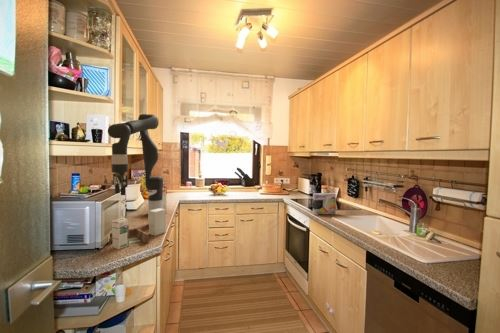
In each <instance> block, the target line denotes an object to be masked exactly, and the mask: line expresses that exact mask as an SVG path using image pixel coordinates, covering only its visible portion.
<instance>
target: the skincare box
mask: <svg viewBox="0 0 500 333" xmlns="http://www.w3.org/2000/svg"><path fill="white" fill-rule="evenodd" d="M166 215H167V209H166V210H165V209H161V208H158V209H154V210H150V211H149V225H148V228H149V229H148V234H149V235H152V236H154V237H155V236H159V235H162V234H165V233H166V232H167V231H166V230H167V229H166V227H167V226H166V224H167V223H166Z"/></svg>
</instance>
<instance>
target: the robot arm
mask: <svg viewBox="0 0 500 333" xmlns="http://www.w3.org/2000/svg"><path fill="white" fill-rule="evenodd" d="M159 123H160V122H159V117H158V116H157V115H155V114H149V113H147V114H146V113H145V114H144V113H140V114H139V115H138V118H137V119H136V120H135V119H134V120H129V121H126V122H122V123H113V124H111V125H110V126H109V127H108V128H107V134H108V136H109V137H110V138H113V139H119V140H118V142H114V143H112V145H111V173H113V174H112V185H113V186H114V194H117V195H118V194H120V195H121V196H126V193H127V192H126V191H127V190H126V188H128V186H129V185H128V175H127V174H125V173H128V171H129V159H128V144H129V141H130V137H131V135H134V134H136V133H140V134H139V135H140V138H141V140H140V141H141V145H142V146H141V147H142V148H141V149H142V157H143V163H144V164H143V165H144V178H145V179H144V180H145V182H144V183H145V188H146V190H147V191H148V190H157V192H156V193H155V194H152V195H150V196H148V195H147V196H148V197H147V202H148V204H147V206H148V208H147V211H148V212H147V213H148V214H147V215H148V216H147V219H148V220H147V221H148V226H149V211H150V210H154V209H158V208H161V209H163V208H162V196H163V188H164V179H163V176H155V175H154V176H152V172H153V169H154V167H155V165H156V163H157V162H158V159H159V151H158V147H157V145H156V143H155V142H154V141H153V140H152V138H151V136H150V133H149V130H155V129H157V128H158V127H159V125H160V124H159Z"/></svg>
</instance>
